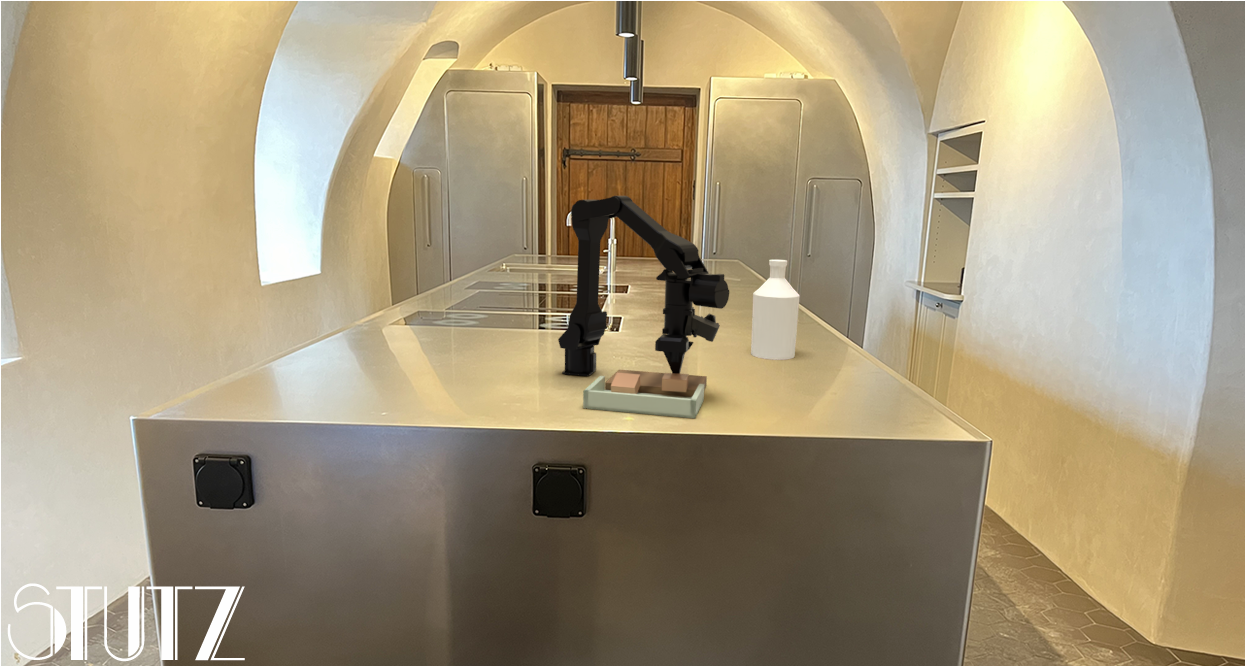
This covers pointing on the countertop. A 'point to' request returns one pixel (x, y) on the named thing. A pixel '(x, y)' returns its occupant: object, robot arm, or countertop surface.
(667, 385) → the right tile
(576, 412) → the countertop surface
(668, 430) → the countertop surface
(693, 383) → the walnut board
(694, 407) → the sage tray
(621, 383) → the left tile
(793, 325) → the bottle
